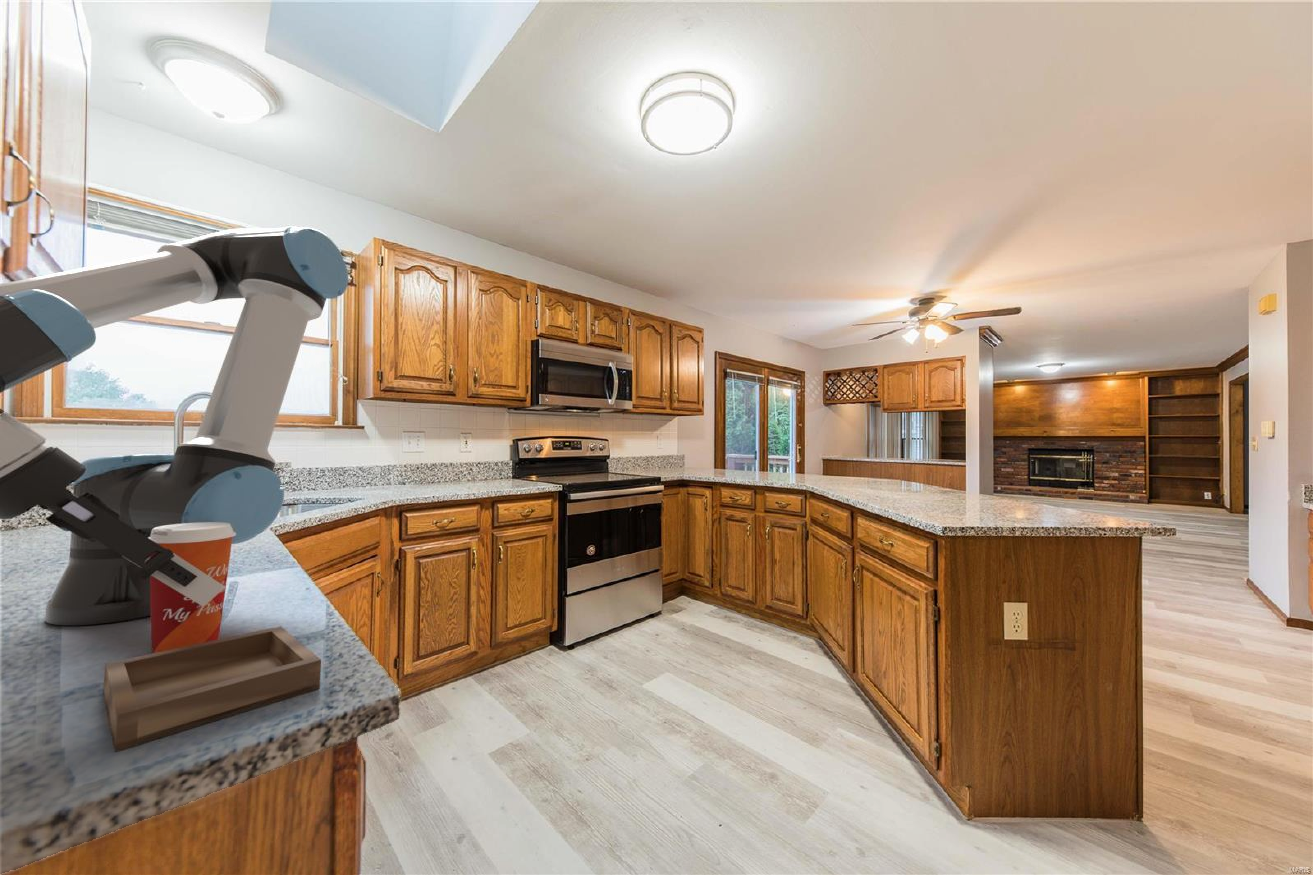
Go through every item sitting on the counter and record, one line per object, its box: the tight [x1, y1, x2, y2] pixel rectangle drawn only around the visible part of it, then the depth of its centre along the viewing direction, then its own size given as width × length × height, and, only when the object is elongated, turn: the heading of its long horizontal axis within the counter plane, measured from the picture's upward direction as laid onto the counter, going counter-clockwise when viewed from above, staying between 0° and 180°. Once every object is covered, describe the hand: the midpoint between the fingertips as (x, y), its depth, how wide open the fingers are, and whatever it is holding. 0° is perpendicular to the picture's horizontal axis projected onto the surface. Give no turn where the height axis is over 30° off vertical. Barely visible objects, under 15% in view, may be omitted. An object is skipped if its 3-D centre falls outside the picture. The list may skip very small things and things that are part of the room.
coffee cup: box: [148, 522, 236, 654], centre depth 61 cm, size 8×8×15 cm
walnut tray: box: [102, 626, 322, 752], centre depth 50 cm, size 14×14×3 cm
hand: (196, 586), depth 61 cm, fingers open, 13 cm apart
